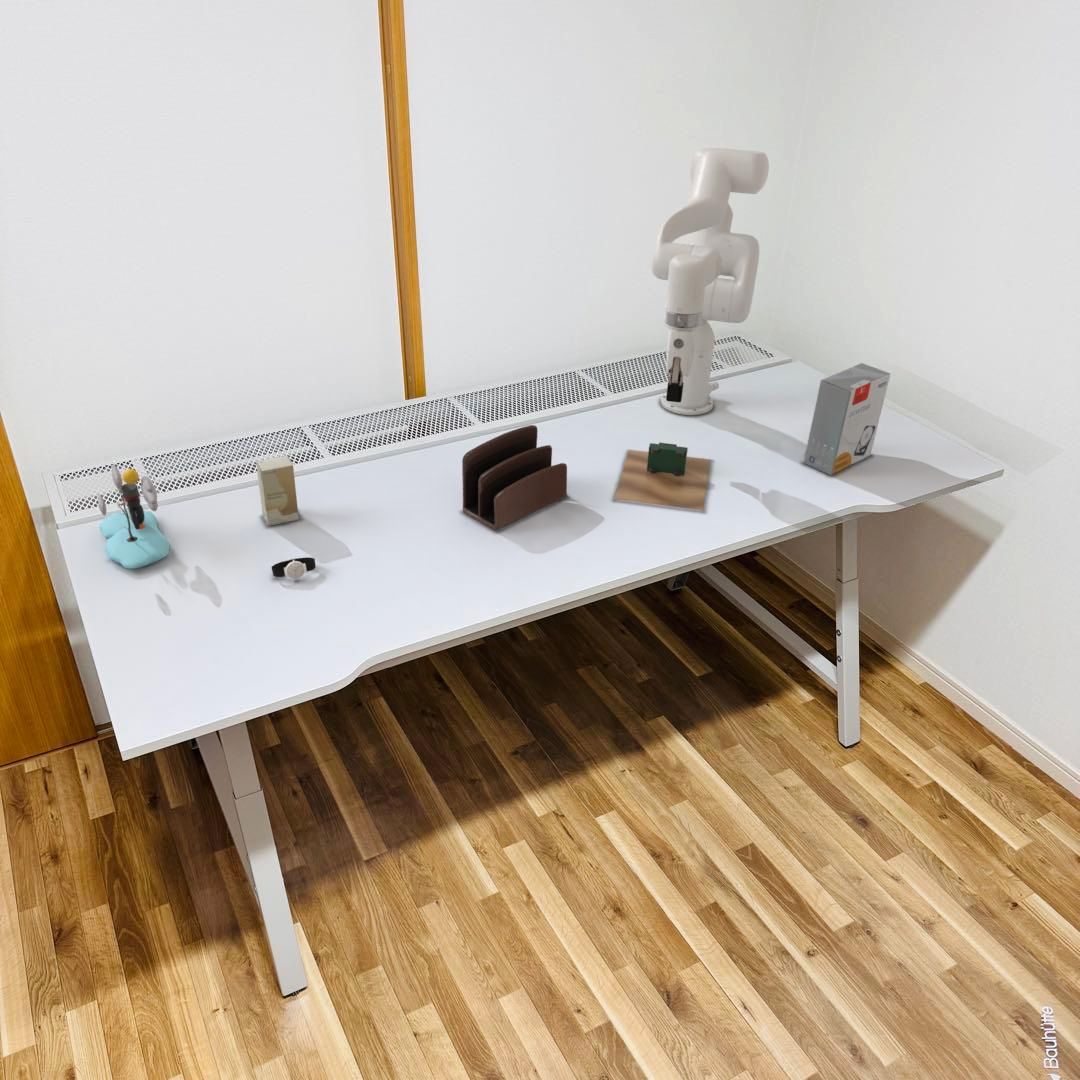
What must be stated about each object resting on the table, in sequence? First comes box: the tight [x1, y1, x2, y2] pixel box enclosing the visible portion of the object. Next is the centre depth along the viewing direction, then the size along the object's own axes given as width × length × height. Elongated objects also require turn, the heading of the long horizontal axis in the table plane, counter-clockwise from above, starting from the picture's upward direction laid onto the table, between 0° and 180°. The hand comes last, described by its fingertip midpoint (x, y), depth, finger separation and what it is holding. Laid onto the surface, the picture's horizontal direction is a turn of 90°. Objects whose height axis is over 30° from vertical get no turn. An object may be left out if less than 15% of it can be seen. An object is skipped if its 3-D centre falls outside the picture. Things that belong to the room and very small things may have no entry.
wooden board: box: [613, 449, 711, 512], centre depth 208 cm, size 22×18×1 cm
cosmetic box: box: [255, 455, 300, 526], centre depth 189 cm, size 6×4×12 cm
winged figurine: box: [97, 463, 170, 570], centre depth 179 cm, size 20×11×15 cm, turn 28°
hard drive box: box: [803, 362, 891, 476], centre depth 213 cm, size 16×8×20 cm, turn 131°
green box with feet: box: [647, 442, 689, 476], centre depth 210 cm, size 8×4×6 cm, turn 78°
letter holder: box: [461, 424, 568, 531], centre depth 195 cm, size 10×20×14 cm, turn 134°
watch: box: [271, 556, 316, 580], centre depth 176 cm, size 8×5×4 cm, turn 114°
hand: (673, 400), depth 211 cm, fingers closed
